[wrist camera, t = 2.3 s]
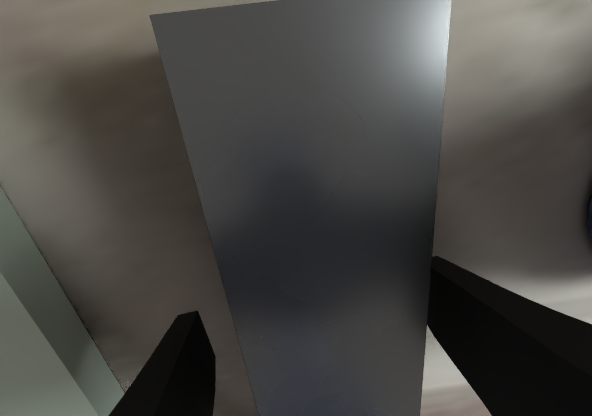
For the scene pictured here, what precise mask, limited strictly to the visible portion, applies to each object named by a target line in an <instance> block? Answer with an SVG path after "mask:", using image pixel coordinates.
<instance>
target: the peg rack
mask: <svg viewBox="0 0 592 416" xmlns="http://www.w3.org/2000/svg"><path fill="white" fill-rule="evenodd" d="M124 394H125V393H124V392H123V390H122V388H121V387H120V385H119V383H118V382H117V380H116V378H115V377H114V375H113V373H112V371H111V370H110V368H109V366H108V365H107V363H106V361H105V360H104V358H103V356H102V355H101V353H100V351H99V350H98V348H97V346H96V345H95V343H94V341H93V340H92V338H91V336H90V335H89V333H88V331H87V330H86V328H85V326H84V325H83V323H82V321H81V320H80V318H79V316H78V315H77V313H76V311H75V310H74V308H73V306H72V305H71V303H70V301H69V300H68V298H67V296H66V295H65V293H64V291H63V290H62V288H61V286H60V285H59V283H58V281H57V280H56V278H55V276H54V275H53V273H52V271H51V270H50V268H49V266H48V265H47V263H46V261H45V260H44V258H43V256H42V255H41V253H40V251H39V250H38V248H37V246H36V245H35V243H34V241H33V240H32V238H31V236H30V235H29V233H28V231H27V230H26V228H25V226H24V225H23V223H22V221H21V220H20V218H19V216H18V215H17V213H16V211H15V209H14V208H13V206H12V204H11V203H10V201H9V199H8V198H7V196H6V194H5V193H4V191H3V189H2V188H1V186H0V416H108V415H109V414H110V413H111V411H112V410H113V409H114V407H115V406H116V405H117V403H118V402H119V401H120V399H121V398H122V397H123V395H124Z"/></svg>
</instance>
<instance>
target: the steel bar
mask: <svg viewBox="0 0 592 416" xmlns="http://www.w3.org/2000/svg"><path fill="white" fill-rule="evenodd" d="M450 13H451V0H278V1H269V2H260V3H252V4H243V5H234V6H225V7H217V8H208V9H199V10H190V11H181V12H173V13H164V14H155V15H150V19H151V22H152V26H153V30H154V33H155V37H156V41H157V44H158V48H159V52H160V55H161V59H162V63H163V66H164V70H165V73H166V77H167V81H168V84H169V88H170V92H171V95H172V99H173V103H174V106H175V110H176V114H177V117H178V121H179V125H180V128H181V132H182V136H183V139H184V143H185V147H186V150H187V154H188V158H189V161H190V165H191V169H192V172H193V176H194V180H195V183H196V187H197V191H198V194H199V198H200V202H201V205H202V209H203V213H204V216H205V220H206V224H207V227H208V231H209V234H210V238H211V242H212V245H213V249H214V253H215V256H216V260H217V264H218V267H219V271H220V275H221V278H222V282H223V286H224V289H225V293H226V297H227V300H228V304H229V308H230V311H231V315H232V319H233V322H234V326H235V330H236V333H237V337H238V341H239V344H240V348H241V352H242V355H243V359H244V363H245V366H246V370H247V374H248V377H249V381H250V384H251V388H252V392H253V395H254V399H255V403H256V406H257V410H258V414H259V416H420V408H421V395H422V382H423V369H424V355H425V342H426V329H427V316H428V303H429V290H430V276H431V263H432V250H433V237H434V224H435V210H436V197H437V184H438V171H439V158H440V145H441V131H442V118H443V105H444V92H445V79H446V65H447V52H448V39H449V26H450Z"/></svg>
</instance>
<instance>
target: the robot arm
mask: <svg viewBox="0 0 592 416" xmlns="http://www.w3.org/2000/svg"><path fill="white" fill-rule="evenodd" d="M427 325H428V327H429V328H430V330H431V332H432V333H433V335H434V337H435V338H436V339H437V341H438V342H439V344H440V345H441V346H442V348H443V349H444V350H445V352H446V353H447V355H448V356H449V357H450V359H451V360H452V361H453V363H454V364H455V365H456V367H457V368H458V369H459V371H460V372H461V373H462V375H463V376H464V378H465V379H466V380H467V382H468V383H469V384H470V386H471V387H472V388H473V390H474V391H475V392H476V394H477V395H478V396H479V398H480V399H481V400H482V402H483V403H484V405H485V406H486V408H487V409H488V410H489V412H490V413H491V415H492V416H592V324H589V323H587V322H584V321H581V320H578V319H576V318H573V317H570V316H568V315H565V314H563V313H560V312H557V311H555V310H552V309H550V308H548V307H545V306H543V305H541V304H538V303H536V302H534V301H531V300H529V299H527V298H524V297H522V296H520V295H518V294H516V293H513V292H511V291H509V290H507V289H505V288H502V287H500V286H498V285H496V284H494V283H492V282H490V281H488V280H486V279H484V278H482V277H480V276H478V275H476V274H474V273H472V272H470V271H467V270H465V269H463V268H461V267H459V266H457V265H455V264H453V263H451V262H449V261H447V260H445V259H443V258H440V257H438V256H434V257H432V263H431V276H430V290H429V303H428V316H427ZM214 397H215V354H214V352H213V349H212V346H211V344H210V341H209V338H208V336H207V333H206V331H205V328H204V325H203V323H202V320H201V317H200V315H199V312H198V311H194V312H190V313H185V314H181V315H178V316H177V317H176V319H175V320H174V322H173V323H172V325H171V326H170V328H169V329H168V331H167V332H166V334H165V335H164V337H163V339H162V340H161V342H160V343H159V345H158V346H157V348H156V349H155V351H154V352H153V354H152V355H151V357H150V358H149V360H148V361H147V363H146V364H145V366H144V367H143V368H142V370H141V371H140V373H139V374H138V376H137V377H136V379H135V380H134V382H133V383H132V384H131V386H130V387H129V389H128V390H127V391H126V393H125V394H124V395H123V397H122V398H121V399H120V401H119V402H118V403H117V405H116V406H115V407H114V409H113V410H112V411H111V413H110V414H109V415H108V416H212V415H213V406H214Z"/></svg>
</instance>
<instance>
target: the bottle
mask: <svg viewBox="0 0 592 416" xmlns="http://www.w3.org/2000/svg"><path fill="white" fill-rule="evenodd" d="M589 230H590V233H591V237H592V198H591V202H590V205H589Z"/></svg>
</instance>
